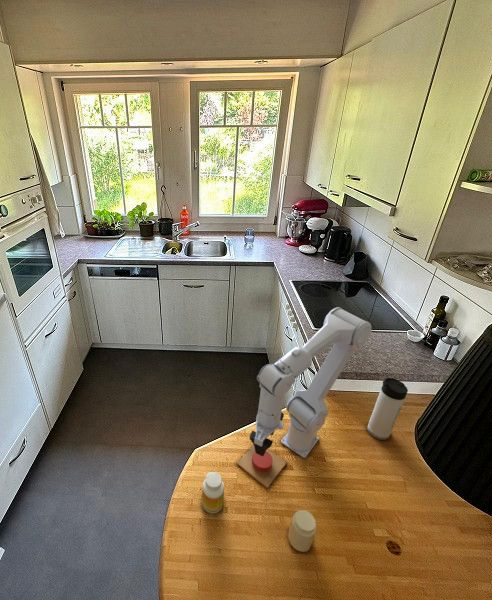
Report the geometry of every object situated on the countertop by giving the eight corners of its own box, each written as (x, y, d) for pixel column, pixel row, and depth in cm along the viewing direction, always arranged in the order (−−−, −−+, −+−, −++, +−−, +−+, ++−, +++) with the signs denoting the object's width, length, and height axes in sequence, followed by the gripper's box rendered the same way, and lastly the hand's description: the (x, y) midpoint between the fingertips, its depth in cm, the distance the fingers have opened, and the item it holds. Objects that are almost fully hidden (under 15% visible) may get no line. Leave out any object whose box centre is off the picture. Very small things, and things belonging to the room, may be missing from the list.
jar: (294, 521, 79) (299, 503, 75) (315, 538, 75) (321, 519, 72) (284, 539, 75) (288, 520, 72) (304, 557, 72) (311, 538, 68)
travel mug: (363, 422, 105) (379, 375, 96) (384, 424, 104) (403, 377, 95) (369, 438, 100) (388, 390, 90) (392, 441, 99) (413, 392, 89)
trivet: (257, 442, 98) (257, 441, 98) (286, 463, 92) (286, 462, 92) (237, 464, 92) (237, 463, 92) (267, 488, 86) (267, 487, 86)
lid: (247, 459, 93) (247, 454, 92) (262, 450, 95) (263, 446, 95) (260, 475, 88) (261, 471, 88) (276, 466, 91) (277, 461, 90)
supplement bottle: (221, 516, 80) (223, 492, 75) (200, 511, 81) (200, 487, 76) (224, 494, 84) (226, 471, 80) (203, 490, 85) (204, 467, 81)
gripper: (276, 434, 74) (270, 471, 81) (293, 394, 85) (286, 430, 92) (248, 421, 77) (244, 458, 84) (268, 385, 88) (263, 420, 95)
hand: (264, 443), depth 88 cm, fingers open, 7 cm apart
